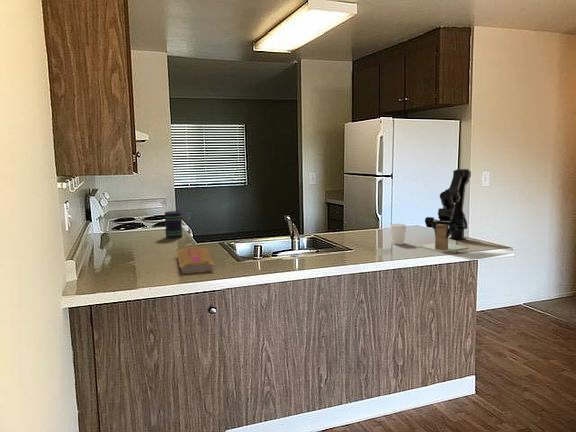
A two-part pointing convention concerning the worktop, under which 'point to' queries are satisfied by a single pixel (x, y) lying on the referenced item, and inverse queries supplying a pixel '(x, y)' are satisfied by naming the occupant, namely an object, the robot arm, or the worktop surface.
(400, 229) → the white cup
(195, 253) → the pink-topped tan slab
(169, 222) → the storage jar
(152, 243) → the worktop surface
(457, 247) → the sage placemat
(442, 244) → the walnut block
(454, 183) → the robot arm
